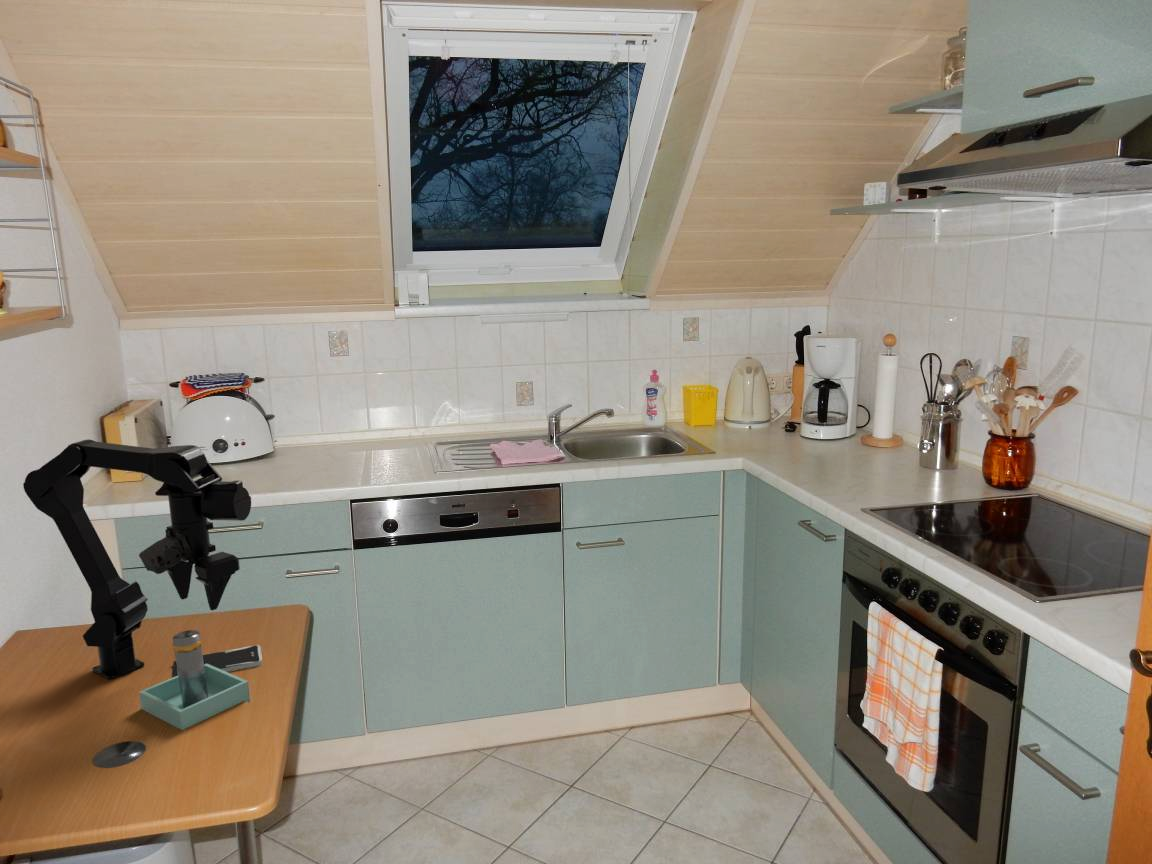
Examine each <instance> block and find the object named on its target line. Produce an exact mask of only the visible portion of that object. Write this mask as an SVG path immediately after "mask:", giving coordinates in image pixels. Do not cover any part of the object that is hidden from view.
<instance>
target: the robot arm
mask: <svg viewBox="0 0 1152 864" xmlns="http://www.w3.org/2000/svg"><path fill="white" fill-rule="evenodd" d="M91 468H99V469H109V470H117V471H125V472H131V473H140V474H144V475H148V476H149V477H151V478H152V479H154V480H155V481H158V482H161V483H163V484H162V485H161V486H160V488H158V489H157V490H156V491H155V493H154V494H155V496H157V497H160V496H161V497H167V498H168V506H169V514H170V521H171V522H170V523H171V524H170V525H168V526H166V529H165V537H163V538H162V539H160V540H158V541H155V542H154V543H153V544H151V545H150V546H148V547H147V548H145V549H144V550H143V551H141V552H139V554H138V557H139V558H140V560H141V562H142V564H143V566H144V567H145V569H146V571H148V572H153V573H155V575H160V574H164V573H165V572H167V574H168V576H169V578H170V579H171V581H172V584H173V586H174V588H175V590H176V592H177V595H178V596H179V598H180V600H185V599H188V597H189V593H190V588H191V587H190V586H191V582H192V574H193V568H194V572H195V574H196V575H197V576H196V577H195V580H197V581H199V582H200V583H201V584H203V587H204V591H205V596H206V599H207V603H208V606H209V610H211V611H214V610H218V607H219V605H220V602H221V600H222V597H223V595H224V592H225V590H226V588H227V586H228V583H229V581H230V580H231V578H232V575H234V574H236V572H237V571H238V572H239V570H240V569H241V568H240V567H241V566H240V560H239V559H240V558H239V557H237V556H236V555H234V554H232V553H229V552H225V551H219V552H217V553H214V554H210V553H213V552H215V551H217V549H216V544H212V543H211V542H210V541H211V540H210V530H212V529H214V523H213V522H211V521H231V522H232V521H233V522H234V521H235V522H236V521H237V522H238V521H240V522H241V521H245V520H246V519H247V518H248V517H249V515H250V513H251V509H252V497H251V495H250V493H249V491H248V490H247V488H245V487H244V484H243V481H242V480H231V481H223V478H222V476H221V475H220V474H219V473H218V472H217V470H216V469H215V468H214V466H213V465H212V464H211V463H210V462H209V460H208V459H207V457H206V454H205V453H204V451H202V448H201V447H199V446H197V445H194V444H193V445H192V444H191V445H189V444H188V445H187V444H185V445H173V446H166V447H159V448H151V447H146V446H145V447H144V446H134V445H127V444H118V443H111V442H103V441H96V440H93V439H83V440H80V441H76V442H73V443H70V444H68V445H67V446H66V447H65V448H64V449H62V451H61V452H60V453H59V454H58V455H56V456H55V457H53V458H51V460H49V461H48V462H45V463H44V464H43V465H42V466H41V467H39V468H38V469H34V470H31V471H30V472H29V473H27V474H26V476H25V479H24V482H23V483H22V485H23V490H24V492H25V494H26V496H27V497H28V498H29V500H30V501H31V502H32V504H33V505H34V506H35V508H36V509H37V510H38V511H40V512H42V513H43V514H45V515H46V516H47V517H49V518H50V519H52V520H53V522H54V523H55V525H56V528H57V529H58V531H59V533H60V534H61V536H62V538H63V540H64V542H65V544H66V545H67V548H68V549H69V552H70V553H71V555H72V558H73V560H74V561H75V563H76V564H77V566H78V568H79V571H80V572H81V574H82V576H83V579H84V580H85V582H86V583H87V585H88V587H89V590H90V591H91V593H90V594H91V598H90V599H91V600H90V612H91V615H92V616H93V620H94V623H92V625H91V626H90V627H88V629H87V630H86V631H85V632H84V634H83V635H82V638H83V640H84V642H85V644H86V646H87V647H96V648H97V652H98V660H99V664H98V665H96V666H93V667H92V669H91V670H92V672H94V673H96V674H97V675H100V676H102V677H104V678H106V679H109V680H111V679H115V678H116V677H119V676H121V675H125V674H127V673H129V672H132V671H135V670H137V669H140V668H143V667H144V666H145V662H144V661H142V660H140V659H137V658H136V653H135V645H134V637H133V632H135V631H136V630H138V629H140V628H141V627H142V623H143V620H144V619H145V617H146V615H147V612H148V610H149V609H148V605H147V601H148V597H146V595H144V593H143V592H142V589H141V586H140V584H139V582H138V581H135V580H134V581H133V582H132V583H129V582H127V581H126V580H124V578H121V577H120V575H119V573H118V571H117V569H116V567H115V565H114V563H113V561H112V559H111V557H110V556H109V554H108V551H107V550H106V548H105V546H104V544H103V542H102V540H101V538H100V536H99V535H98V532H97V531H96V529H95V527H94V525H93V523H92V521H91V519H90V517H89V516H88V513H87V511H86V510H85V508H84V497H85V496H84V495H85V494H84V493H85V489H84V485H83V483H82V478H83V477H84V476H85V475H86V474H87V473H88V472H89V471H90V469H91ZM198 477H201V478H198ZM196 478H197V479H196ZM194 479H195V480H194ZM208 520H210V521H208ZM193 566H194V567H193Z"/></svg>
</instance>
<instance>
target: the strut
mask: <svg viewBox="0 0 1152 864" xmlns="http://www.w3.org/2000/svg"><path fill="white" fill-rule="evenodd" d="M172 636H173V637H172V649H173V651H174V657H175V661H176V665H177V671H178V678H179V685H180V692H181V699H182V705H183V708H186V707H188V706H191V705H193V704H195V703H197V702H199V701H202V700H204V699H206V698H208V691H207V683H206V676H205V669H204V662H203V655H204V654H203V649H202V648H203V647H202V638H201V635H200V631H198V630H196V629H193V630H189V629H188V630H184V631H181V632H178V633H176V634H175V635H172Z"/></svg>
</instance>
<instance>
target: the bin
mask: <svg viewBox="0 0 1152 864" xmlns="http://www.w3.org/2000/svg"><path fill="white" fill-rule="evenodd" d="M204 669H205V676H206V683H207V691H208V698H206V699H204V700H202V701H199V702H197V703H195V704H193V705H191V706H188V707H186V708H183V705H182V699H181V692H180V685H179V678H178V676H176V677H171V678H169V679H167V680H164V681H162V682H159V683H157V684H154V685H153V686H149V687H148V688H145V689H143V690H140V691H138V692H139V693H138V694H139V701H140V706H141V707H140V708H141V710H143V711H144V712H147V713H149V714H150V715H152V716H154V717H156V718H158V719H160V720H161V721H164V722H166V723H168V724H170V725H171V726H173V727H175V728H177V729H180V731H184V730H186V729H188V728H190V727H192V726H195V725H197V724H199V723H200V722H203V721H205V720H206V719H208V718H211V717H213V716H215V715H217V714H220V713H222V712H224V711H226V710H228V709H230V708H233V707H234V706H237V705H238V704H240V703H243V702H246V703H250V702H251V697H250V696H251V695H250V694H251V693H250V687H249V680H247V679H243V678H241V677H240V676H237V675H234V674H232V673H230V672H225V671H223V670H221V669H218V668H216V667H214V666H212V665H209V664H204Z"/></svg>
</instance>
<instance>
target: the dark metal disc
mask: <svg viewBox="0 0 1152 864" xmlns="http://www.w3.org/2000/svg"><path fill="white" fill-rule="evenodd" d="M146 749H147V748H146V745H145V744H144V743H143V742H141V741H134V740H131V741H130V740H128V741H121V742H118V743H114V744H112V745H111V744H110V745H109V746H107V747H104V748H102V749H101V750H100V751H98V752H97V753H96V754H95V755H94V757H93V758H92V763H93V765H94V766H95V767H97V768H102V769H110V768H111V769H113V768H117V767H121V766H124V765H127V764H130V763H132V762H135V761H136V760H137V759H139V758H141V757H142V756H143V754H144V753H145V752H146Z"/></svg>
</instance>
